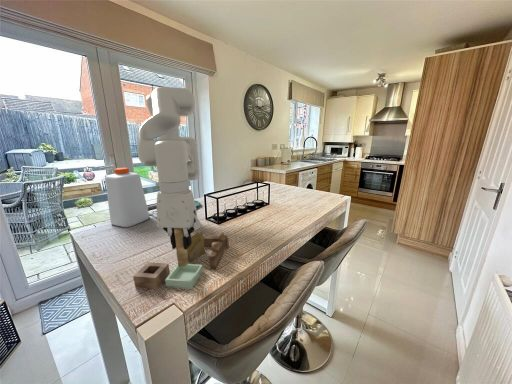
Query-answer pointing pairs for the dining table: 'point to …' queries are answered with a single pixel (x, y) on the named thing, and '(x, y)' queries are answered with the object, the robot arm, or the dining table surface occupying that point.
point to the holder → (151, 275)
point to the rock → (196, 247)
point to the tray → (184, 276)
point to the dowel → (180, 247)
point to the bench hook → (216, 248)
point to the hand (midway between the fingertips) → (181, 246)
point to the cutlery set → (195, 204)
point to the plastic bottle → (126, 198)
